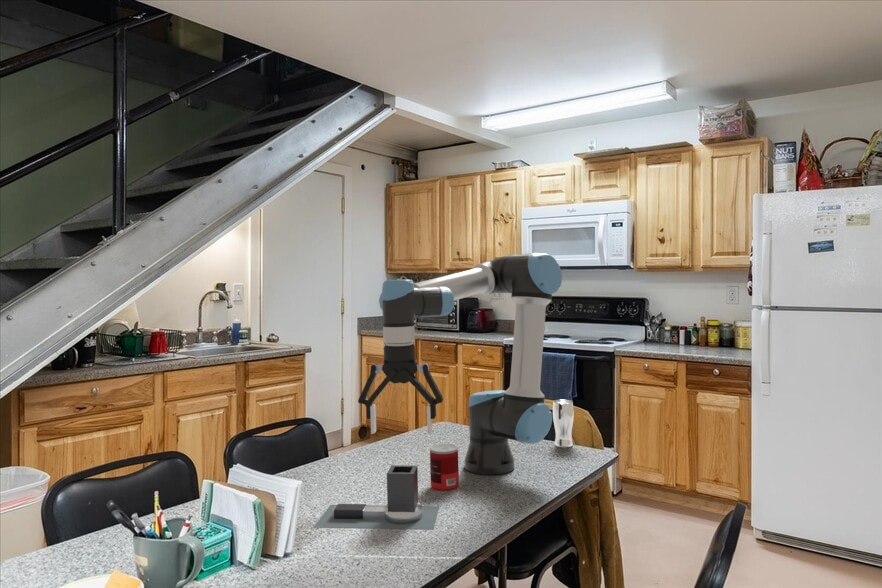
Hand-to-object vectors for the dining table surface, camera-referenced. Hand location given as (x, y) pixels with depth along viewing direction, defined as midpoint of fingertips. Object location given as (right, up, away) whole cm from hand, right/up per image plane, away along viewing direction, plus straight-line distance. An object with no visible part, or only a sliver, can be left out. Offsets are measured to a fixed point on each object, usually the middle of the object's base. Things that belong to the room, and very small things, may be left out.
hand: (401, 432), depth 142 cm
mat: (-6, -21, +1) cm, 22 cm away
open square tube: (0, -18, 0) cm, 18 cm away
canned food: (+11, -20, +21) cm, 31 cm away
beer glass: (+51, -19, +61) cm, 82 cm away
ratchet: (-6, -20, +1) cm, 21 cm away
